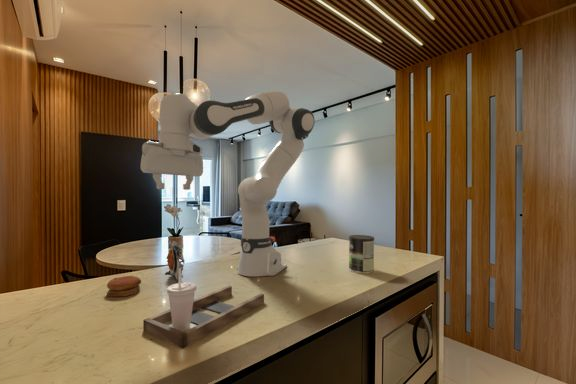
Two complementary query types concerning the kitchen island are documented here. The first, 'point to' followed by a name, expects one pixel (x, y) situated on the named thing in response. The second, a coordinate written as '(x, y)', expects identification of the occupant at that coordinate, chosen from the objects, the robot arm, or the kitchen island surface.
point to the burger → (123, 286)
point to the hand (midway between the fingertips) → (174, 189)
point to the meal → (175, 260)
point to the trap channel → (200, 318)
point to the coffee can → (361, 253)
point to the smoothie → (181, 303)
